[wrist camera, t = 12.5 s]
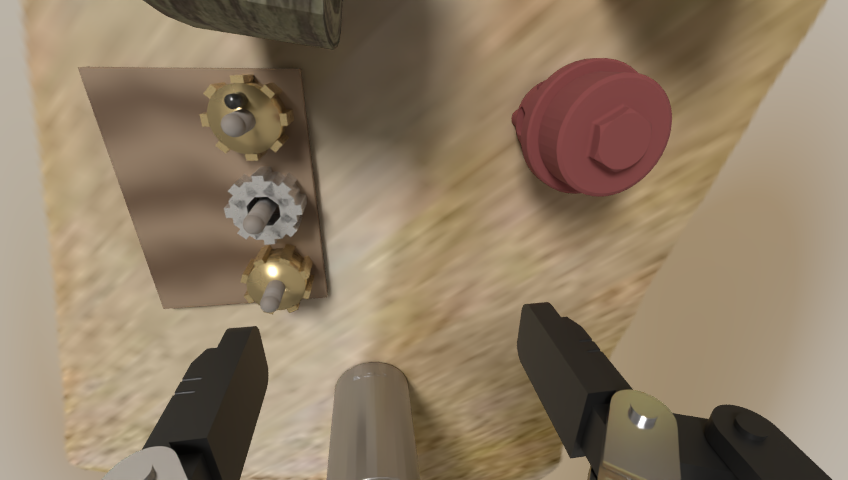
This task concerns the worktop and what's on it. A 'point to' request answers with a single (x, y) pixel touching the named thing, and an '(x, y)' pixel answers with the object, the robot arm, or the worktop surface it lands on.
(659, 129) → the mechanical component
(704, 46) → the worktop surface
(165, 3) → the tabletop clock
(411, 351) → the worktop surface
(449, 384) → the worktop surface
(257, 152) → the gear
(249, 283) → the gear
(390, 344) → the worktop surface
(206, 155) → the gear board
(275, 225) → the steel gear
